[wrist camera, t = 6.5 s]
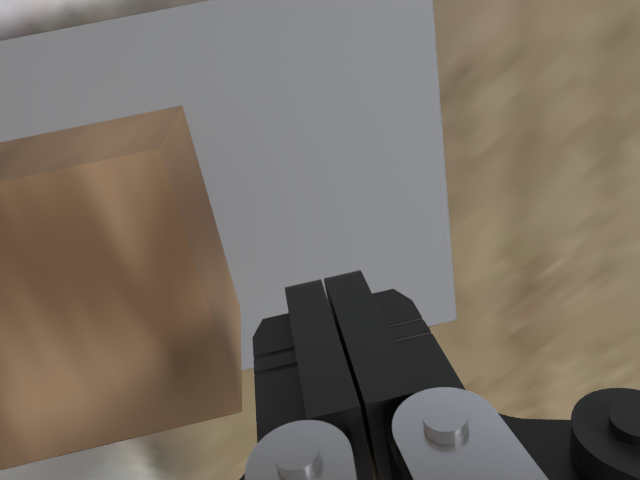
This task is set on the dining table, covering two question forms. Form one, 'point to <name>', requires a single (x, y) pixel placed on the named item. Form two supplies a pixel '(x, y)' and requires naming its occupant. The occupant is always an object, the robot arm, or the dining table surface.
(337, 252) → the mat
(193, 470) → the dining table surface
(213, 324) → the block
